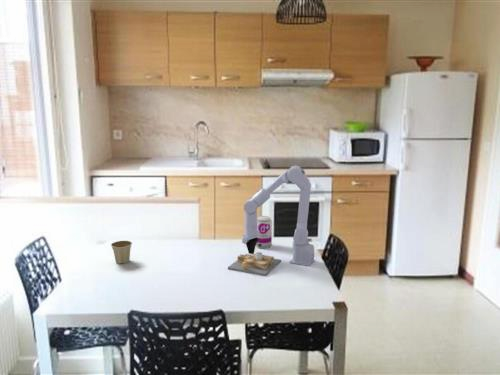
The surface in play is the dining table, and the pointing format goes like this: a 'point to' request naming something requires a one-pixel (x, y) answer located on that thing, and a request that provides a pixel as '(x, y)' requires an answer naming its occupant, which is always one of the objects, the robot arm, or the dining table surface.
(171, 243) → the dining table surface
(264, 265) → the wooden beam assembly
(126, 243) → the flower pot
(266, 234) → the supplement can
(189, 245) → the dining table surface
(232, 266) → the base plate
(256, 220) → the robot arm
